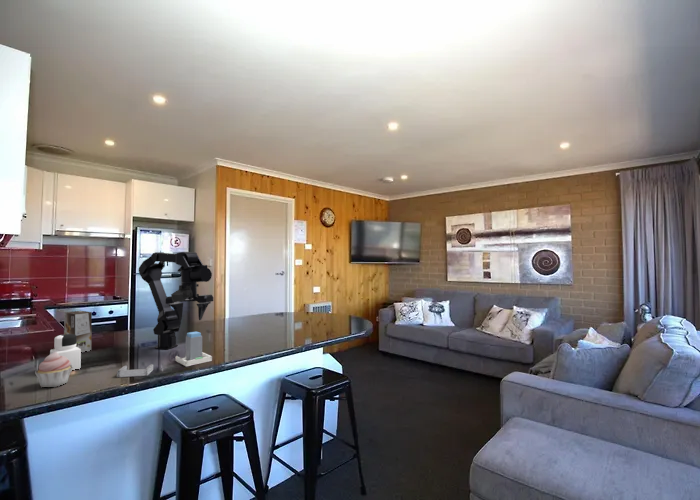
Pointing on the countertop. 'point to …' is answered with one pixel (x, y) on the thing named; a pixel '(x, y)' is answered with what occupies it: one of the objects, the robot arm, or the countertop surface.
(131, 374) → the shallow white tray
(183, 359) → the dock tray
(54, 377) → the cupcake
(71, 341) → the medicine bottle
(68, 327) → the coffee box
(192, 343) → the fibre plug
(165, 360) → the countertop surface
